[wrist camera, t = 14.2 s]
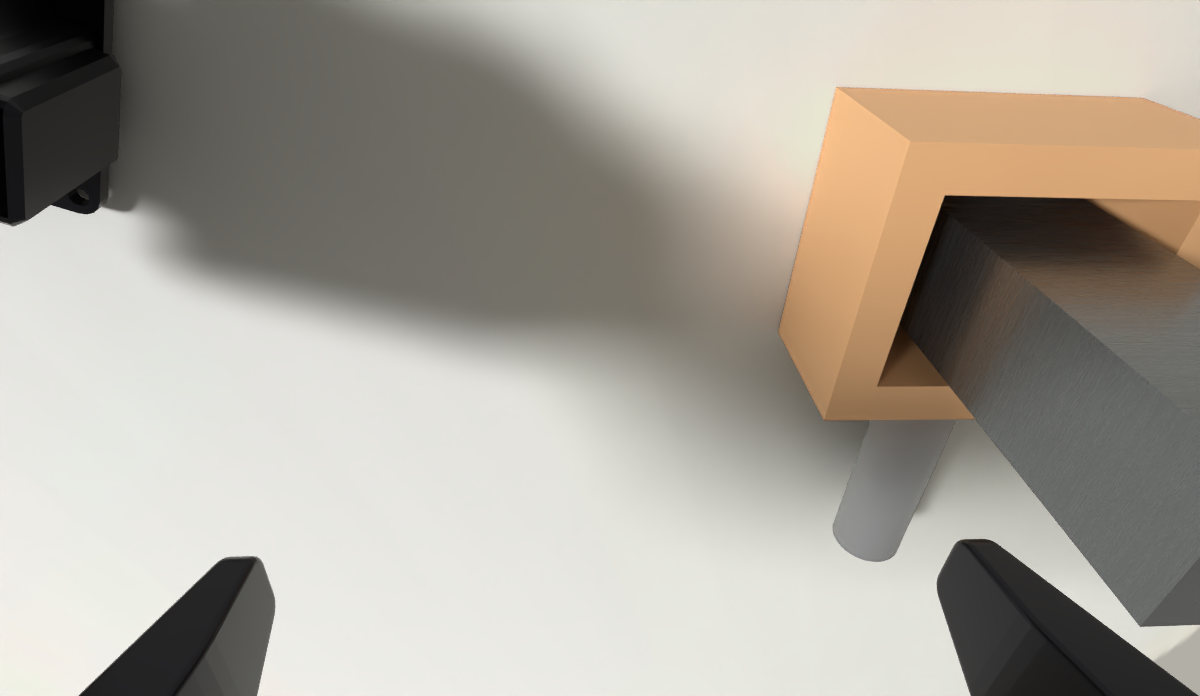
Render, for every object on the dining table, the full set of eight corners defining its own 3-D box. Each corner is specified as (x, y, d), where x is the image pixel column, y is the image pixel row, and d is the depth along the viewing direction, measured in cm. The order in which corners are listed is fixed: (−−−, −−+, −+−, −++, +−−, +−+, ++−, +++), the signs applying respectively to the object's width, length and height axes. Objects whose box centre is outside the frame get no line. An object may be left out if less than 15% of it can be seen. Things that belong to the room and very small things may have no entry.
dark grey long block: (858, 272, 22) (1139, 626, 12) (891, 166, 20) (1265, 479, 10) (992, 275, 22) (1375, 618, 12) (1037, 170, 20) (1543, 476, 10)
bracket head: (738, 498, 27) (781, 635, 23) (841, 65, 18) (953, 138, 13) (1142, 490, 29) (1264, 617, 24) (1428, 87, 20) (1724, 160, 15)
